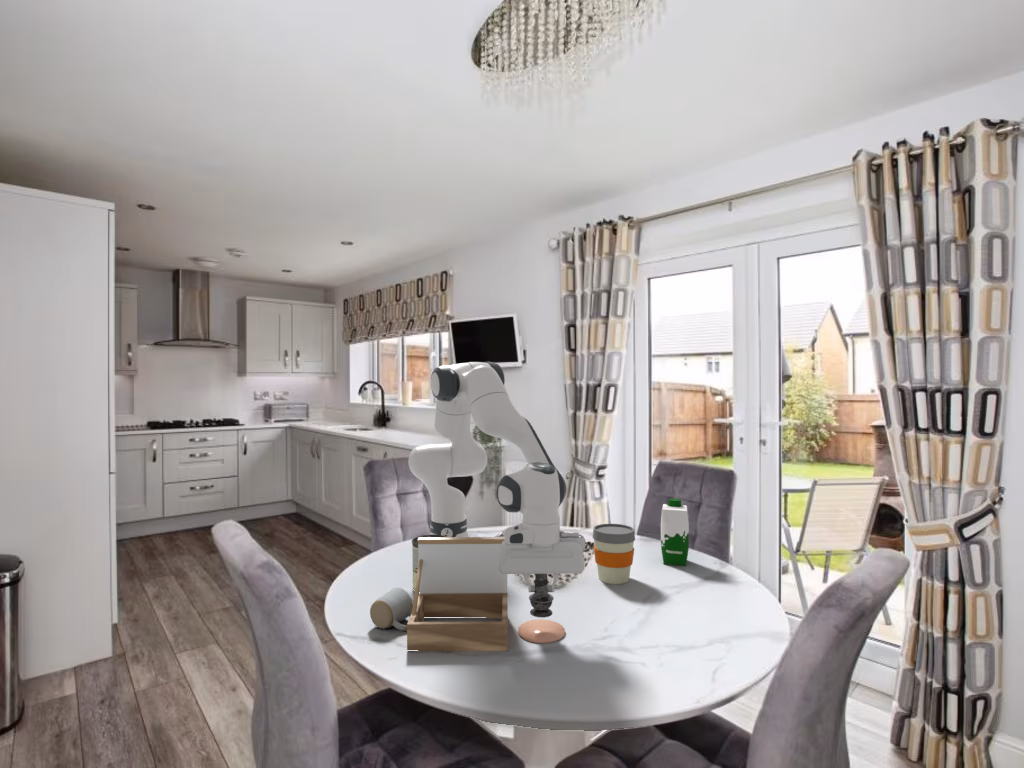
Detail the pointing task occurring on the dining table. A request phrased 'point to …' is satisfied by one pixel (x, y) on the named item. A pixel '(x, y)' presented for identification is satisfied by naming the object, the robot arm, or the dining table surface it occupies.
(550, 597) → the dark grey turned piece
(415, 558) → the coffee can
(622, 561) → the reusable coffee cup
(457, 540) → the propped lid
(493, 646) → the cold frame
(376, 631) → the dining table surface
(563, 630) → the glossy peach disc
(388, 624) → the ceramic mug
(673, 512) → the milk carton
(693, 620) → the dining table surface
